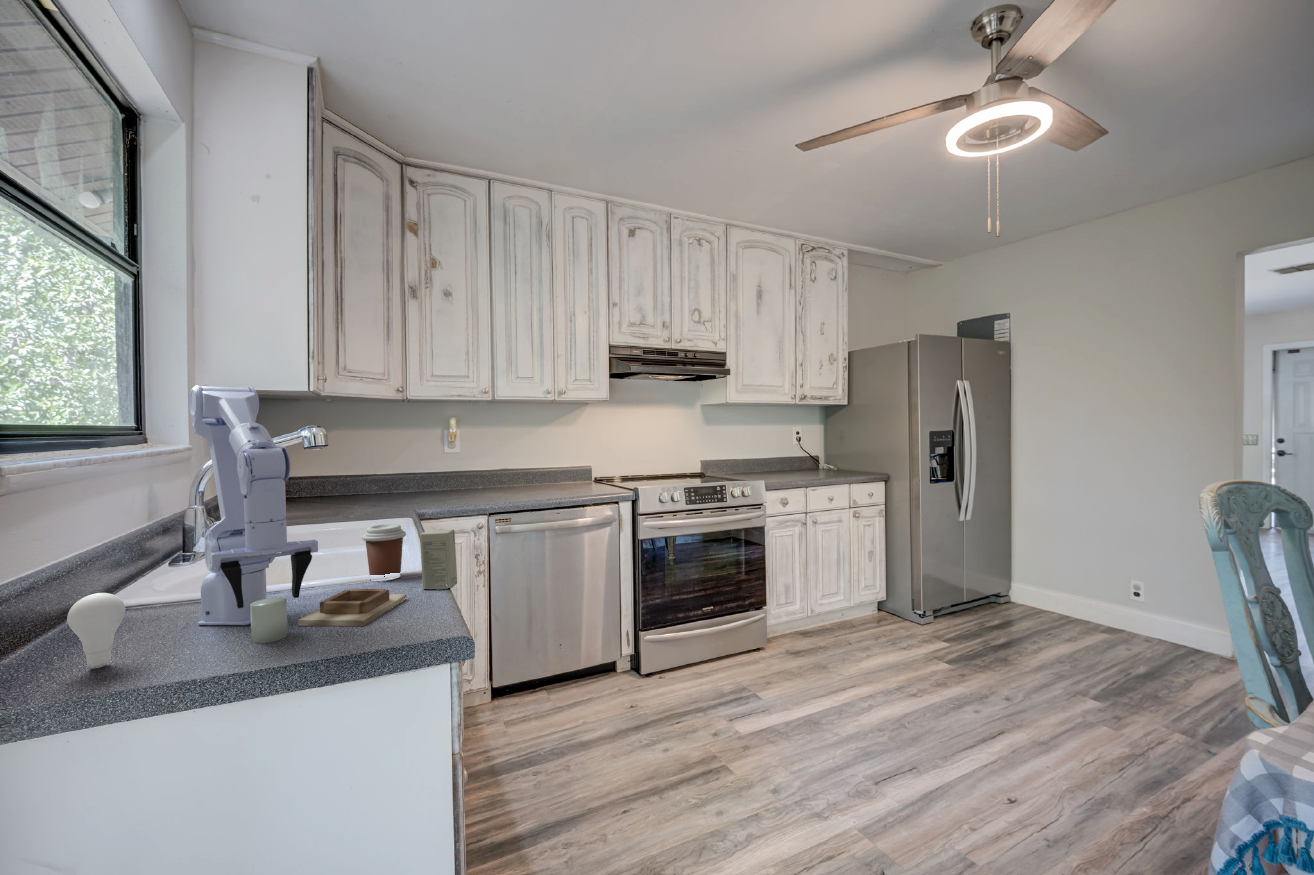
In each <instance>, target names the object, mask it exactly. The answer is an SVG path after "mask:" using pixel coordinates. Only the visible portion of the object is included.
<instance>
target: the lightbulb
mask: <svg viewBox="0 0 1314 875" xmlns="http://www.w3.org/2000/svg"><path fill="white" fill-rule="evenodd" d="M125 614H126V604H125V603H124V600H122V599H121V598H120V597H119V596H118V595H115V594H112V593H110V592H109V593H108V592H97V593H96V592H95V593H93V594H89V595H86V596H83V597H82V598H80V599H78V600H77V601H76V602H75V603H74V604H73V605H72V606H71V608H70V609H69V611H68V613H67V617H66V621H67V625H68V626H69V628H70V629H71V630H72V632H73V633H74V634H75V635H76V636H77V637H78V639H79V640H80V643H81V645H82V651H83V653H85V658H86V659H85V660H86V665H87V666H88V667H91V668H94V669H100V668H102V667H105V665H106V664H108V663H110V662H111V660H112V648H113V647H114V639H115V636H116V635H115V634H116V632H117V630H118V628H119V627H120V625H121V624H122V622H123V620H124V617H125Z"/></svg>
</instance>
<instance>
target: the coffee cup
mask: <svg viewBox="0 0 1314 875" xmlns="http://www.w3.org/2000/svg"><path fill="white" fill-rule="evenodd" d="M406 536H407V533H406V531H405V530H403V529H402V525H400V524H398V523H387V524H386V523H384V524H377V525H371V526H369V527H367V528H366V532H365V533H364V534H362V536H361V538H362V539H361V540H362V541H365V548H366V555H367V563H368V564H367V565H368V573H369V576H370V575H385V574H390V573H400V572H401V573H402V556H403V541H404V537H406ZM384 577H385V576H384Z"/></svg>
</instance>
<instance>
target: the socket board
mask: <svg viewBox="0 0 1314 875" xmlns="http://www.w3.org/2000/svg"><path fill="white" fill-rule="evenodd" d="M405 598H407V594H405V593H404V594H403V593H402V594H401V593H399V594H397V593H395V594H393V593H392V594H390V589H385V588H352V589H344V590H342V591H340V592H338V593H336V594H334V595H332V596H330V597H328V598H326V599H323V600H322V601H320V602H319V609H317V610H315V611H313V612H311V613H310V614H307V615H304V616H303V617H300V619H297V625H298V626H304V627H305V626H307V627H309V626H311V627H312V626H313V627H317V626H318V627H319V626H320V627H322V626H323V627H328V626H329V627H331V626H333V627H334V626H335V627H365V626H366V625H368V624H370V623H371V622H373V621H374V620H377V618H379V617H381V616H383V615H384V614H386V613H387V612H388V611H390V610H392V609H393V608H395V607H397V606H398V605H400V604H401V603H403V602H404V601H403V600H404V599H405ZM402 601H403V602H402ZM400 602H401V603H400ZM399 603H400V604H399ZM397 604H398V605H397ZM396 605H397V606H396ZM394 606H395V607H394ZM392 607H393V608H392ZM391 608H392V609H391Z"/></svg>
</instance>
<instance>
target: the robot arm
mask: <svg viewBox="0 0 1314 875" xmlns="http://www.w3.org/2000/svg"><path fill="white" fill-rule="evenodd" d="M259 409H260V398H259V394H258V392H257V391H256V389H255V388H254V387H252V386H249V387H233V386H232V387H230V386H228V387H227V386H201V385H199V384H198V385H197V384H196V385H194V386H193V387H192V388H191V389H190V392H189V412H190V419H191V426H192V428H193V430H194V434H196V435H198V436H200V437H203V438H205V440H206V442H207V445H208V448H209V451H210V452H209V453H210V458H211V464H212V470H213V477H214V482H215V489H216V495H217V502H218V508H219V513H220V514H219V516H220V520H219V521H217V523H215V524H214V525H213V526H210V528H208V530H207V532H206V533H205V535H204V559H205V560H204V561H205V565H206V568H207V570H208V571H209V572H210V573H208V574H207V575H206V576H205V577H204V579H203V580H202V584H201V585H200V607H201V608H200V610H201V620H200V621H197V625H199V626H247V625H251V614H250V604H251V603H253V602H256V601H259V600H263V599H268V597H267V594H268V592H267V571H266V570H267V569H269V568H270V564H272V563H273V562H274V560H275V559H276V558H278V557H279V558H280V557H285V556H290V564H291V575H292V576H291V579H292V580H291V596H292V598H294V599H296V598H299V597H300V593H301V586H302V583H303V579H304V577H305V575H306V571H307V569H308V568H309V566H310V565H311V563H312V559H313V554H312V553H318V552H319V542H318V540H317V539H307V540H297V541H288V533H287V532H288V529H287V506H286V505H287V504H286V502H287V501H286V499H287V498H286V481H288V479H289V477H290V475H291V458H290V455H289V451H288V449H287V448H286V447H285V446H281V445H276V444H275V442H274V439H273V438H272V437H271V435H270V433H269V431H268V430H267V428H266V427H265V426H264V425H263V424H260V423H258V422H256V421H257V415H258V413H259Z"/></svg>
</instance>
